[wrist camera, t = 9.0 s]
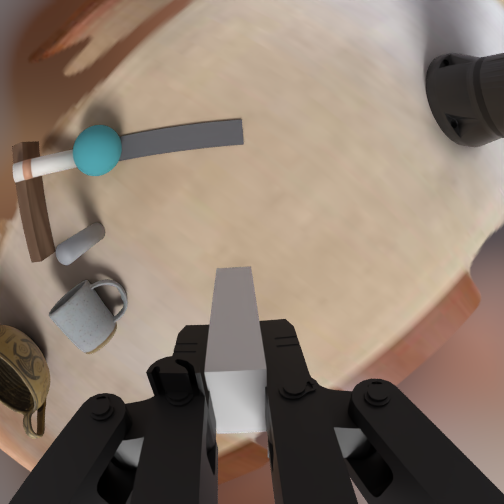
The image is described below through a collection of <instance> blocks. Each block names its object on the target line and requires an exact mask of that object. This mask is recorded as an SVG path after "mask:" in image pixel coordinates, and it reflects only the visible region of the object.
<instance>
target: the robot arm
mask: <svg viewBox="0 0 504 504" xmlns="http://www.w3.org/2000/svg"><path fill="white" fill-rule="evenodd" d="M426 89H427V96H428V101H429V104H430V107H431V110H432V113H433V115H434V117H435V119H436V121H437V123H438V125H439V126H440V128H441V129H442V131H443V132H444V133H445V134H446V135H447V136H448V137H449V138H450V139H451V140H452V141H454V142H455V143H457V144H459V145H462V146H469V147H479V146H482V145H485V144H487V143H490V142H492V141H495V140H497V139H500V138H504V53H501V54H496V55H491V56H486V57H481V58H479V57H474V56H469V55H463V54H456V53H451V54H446V55H443V56H440V57H438V58H436V59H435V60H434V61H433V62H432V63H431V65H430V66H429V69H428V72H427V78H426ZM146 373H147V376H148V379H149V382H150V385H151V387H152V390H153V393H154V397H152V398H150V399H147V400H144V401H139V402H134V403H128V404H125V403H124V402H123V401H122V399H121V398H120V397H118V396H116V395H114V394H108V393H103V394H97V395H95V396H93V397H90V398H89V399H88V400H87V401H86V402H84V403H83V405H82V406H81V407H80V408H79V410H78V411H77V412H76V413H75V415H74V416H73V417H72V419H71V420H70V421H69V422H68V424H67V425H66V426H65V428H64V429H63V430H62V431H61V433H60V434H59V435H58V437H57V438H56V439H55V441H54V442H53V443H52V445H51V446H50V447H49V449H48V450H47V451H46V453H45V454H44V455H43V457H42V458H41V459H40V461H39V462H38V463H37V465H36V466H35V467H34V469H33V470H32V471H31V473H30V474H29V476H28V477H27V478H26V480H25V481H24V483H23V484H22V485H21V487H20V488H19V490H18V491H17V492H16V494H15V495H14V497H13V498H12V500H11V501H10V503H9V504H218V496H217V495H218V447H217V443H216V430H217V434H221V433H247V432H262V431H267V433H268V458H269V459H270V467H271V475H272V483H273V491H274V499H275V504H358V502H357V498H356V495H355V493H354V489H353V486H352V483H351V479H352V481H353V482H354V483H355V485H356V486H357V488H358V489H359V491H360V492H361V494H362V495H363V497H364V498H365V500H366V501H367V502H368V504H504V494H503V493H502V492H501V491H500V490H499V489H498V488H497V487H496V486H495V485H494V484H493V483H492V482H491V481H490V480H489V479H488V478H487V477H486V476H485V475H484V474H483V473H482V472H481V471H480V470H479V469H478V468H477V467H476V466H475V465H474V464H473V463H472V462H471V461H470V460H469V459H468V458H467V457H466V456H465V455H464V454H463V453H462V452H461V451H460V450H459V449H458V448H457V447H456V446H455V445H454V444H453V443H452V442H451V441H450V440H449V439H448V438H447V437H446V436H445V434H444V433H442V432H441V431H440V429H438V428H437V427H436V425H434V423H432V421H430V420H429V419H428V418H427V417H426V416H425V415H424V414H423V413H422V412H421V411H420V410H419V409H418V408H417V407H416V406H415V405H414V404H413V403H412V402H411V401H410V400H409V399H408V398H407V397H406V396H405V395H404V394H403V393H402V392H401V391H400V390H399V389H398V388H397V387H396V386H395V385H393V384H392V383H391V382H389V381H386V380H382V379H368V380H364V381H362V382H360V383H359V384H357V385H356V386H355V388H354V389H353V391H339V390H331V389H327V388H324V387H322V386H320V385H319V384H318V383H317V381H316V380H314V379H313V378H311V376H310V374H309V371H308V368H307V365H306V362H305V359H304V356H303V353H302V350H301V347H300V345H299V341H298V338H297V335H296V332H295V329H294V326H293V325H292V324H290V323H289V322H288V321H287V320H286V319H279V320H266V321H259V316H258V310H257V303H256V297H255V290H254V284H253V277H252V270H251V266H250V267H233V268H217V270H216V278H215V285H214V293H213V301H212V309H211V317H210V325H186V326H185V327H184V328H183V329H182V330H181V331H180V333H179V334H178V337H177V341H176V345H175V348H174V353H173V356H170V357H165V358H162V359H160V360H157V361H156V362H155V363H153V364H152V365H151V366H150V367H149V369H148V370H147V372H146ZM350 478H351V479H350Z"/></svg>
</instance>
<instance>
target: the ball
mask: <svg viewBox="0 0 504 504" xmlns="http://www.w3.org/2000/svg"><path fill="white" fill-rule="evenodd" d="M121 152H122V144H121V140H120V137H119V136H118V134H117V133H116V132H115V131H114V130H113V129H112V128H110V127H108V126H105V125H94V126H91V127H89V128H87V129H85V130H84V131H83V132H81V134H80V135H79V136H78V137H77V139H76V141H75V143H74V146H73V159H74V162H75V164H76V166H77V168H78V169H79V170H80V171H81V172H83V173H85V174H87V175H90V176H100V175H103V174H106V173H107V172H109V171H110V170H112V169H113V168H114V167H115V166H116V164H117V163H118V161H119V159H120V156H121Z"/></svg>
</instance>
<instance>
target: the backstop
mask: <svg viewBox="0 0 504 504" xmlns="http://www.w3.org/2000/svg"><path fill="white" fill-rule="evenodd" d="M12 150H13V163H18V162H22V161H24V160H27V159H31V158H32V159H33V158H37V157H40V153H39V142H21V143H19V144H17V145H14V146H12ZM16 189H17V196H18V203H19V208H20V214H21V219H22V224H23V229H24V234H25V238H26V242H27V246H28V250H29V254H30V258H31V261H32V262H40V261H43V260H44V259H45V258H47V257H48V256H50V255H51V254H53V253H54V252H56V250H55V246H54V242H53V238H52V233H51V229H50V224H49V219H48V213H47V208H46V202H45V196H44V189H43V182H42V176H38V177H34V178H32V179H28V180H23V181H19V182H16Z"/></svg>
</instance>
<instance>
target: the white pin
mask: <svg viewBox="0 0 504 504" xmlns="http://www.w3.org/2000/svg"><path fill="white" fill-rule="evenodd" d="M72 168H77V166H76V164H75V162H74V159H73V149H72V150H68V151H63V152H58V153H54V154H49V155H45V156H41V157H37V158H33V159H32V158H31V159H27V160H24V161H22V162H18V163H14V164H13V177H14V181H15V182H19V181H23V180H28V179H32V178H34V177H38V176H42V175H46V174H50V173H54V172H58V171H63V170H67V169H72Z"/></svg>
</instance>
